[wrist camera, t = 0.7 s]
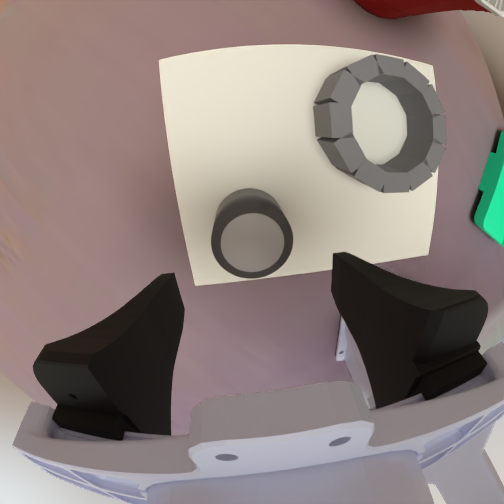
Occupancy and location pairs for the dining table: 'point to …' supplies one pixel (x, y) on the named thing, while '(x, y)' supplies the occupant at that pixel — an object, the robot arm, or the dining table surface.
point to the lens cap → (251, 234)
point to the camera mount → (493, 196)
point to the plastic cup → (428, 7)
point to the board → (306, 149)
